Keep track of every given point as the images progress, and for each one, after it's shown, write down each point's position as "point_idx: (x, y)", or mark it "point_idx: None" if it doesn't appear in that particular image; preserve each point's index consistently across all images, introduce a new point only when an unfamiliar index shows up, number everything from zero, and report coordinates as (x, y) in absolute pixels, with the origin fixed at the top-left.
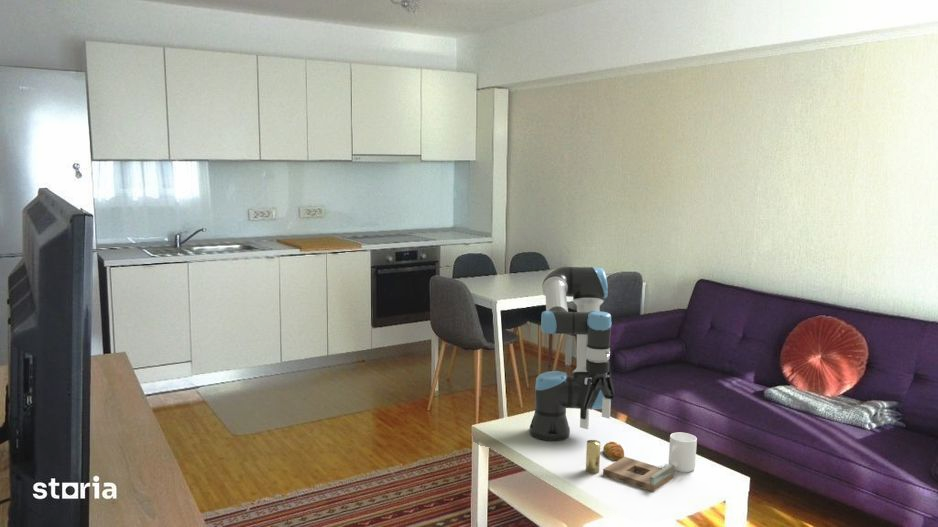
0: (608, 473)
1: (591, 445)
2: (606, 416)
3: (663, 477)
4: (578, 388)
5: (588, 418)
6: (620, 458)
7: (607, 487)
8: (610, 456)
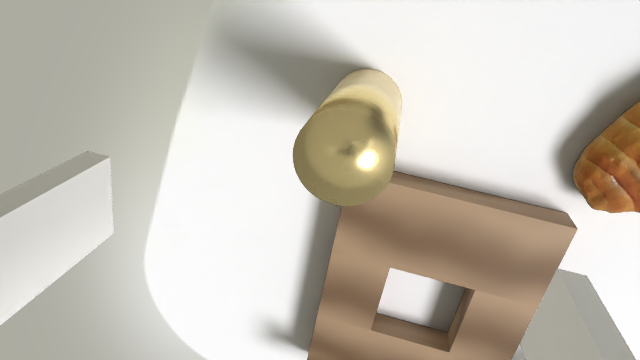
0: None
1: (295, 156)
2: (536, 332)
3: None
4: None
5: (23, 300)
6: (584, 197)
7: (243, 210)
8: (598, 140)
